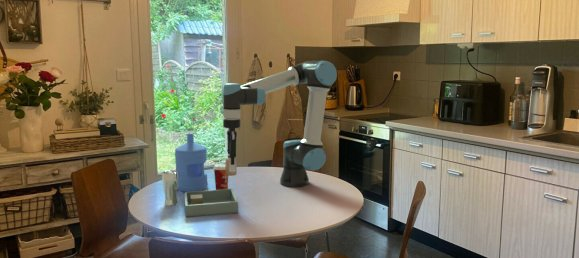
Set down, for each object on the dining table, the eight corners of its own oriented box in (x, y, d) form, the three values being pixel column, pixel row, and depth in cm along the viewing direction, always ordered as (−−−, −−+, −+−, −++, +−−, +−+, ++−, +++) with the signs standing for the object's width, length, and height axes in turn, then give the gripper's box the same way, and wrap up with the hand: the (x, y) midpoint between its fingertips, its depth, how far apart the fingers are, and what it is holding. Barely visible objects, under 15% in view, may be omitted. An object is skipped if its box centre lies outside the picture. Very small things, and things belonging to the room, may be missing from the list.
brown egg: (235, 172, 204) (236, 157, 203) (237, 175, 199) (237, 160, 198) (224, 173, 202) (225, 158, 201) (225, 175, 197) (226, 160, 197)
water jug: (170, 190, 223) (167, 135, 219) (188, 182, 238) (186, 131, 233) (196, 194, 218) (194, 137, 213) (213, 185, 232) (211, 132, 228)
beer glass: (182, 202, 205) (180, 170, 203) (173, 207, 199) (172, 174, 197) (169, 200, 208) (167, 169, 205) (160, 205, 201) (158, 173, 199)
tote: (232, 198, 210) (232, 188, 210) (238, 212, 191) (238, 201, 191) (184, 202, 205) (184, 192, 204) (185, 217, 186) (185, 205, 185)
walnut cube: (191, 206, 199) (190, 195, 198) (202, 205, 200) (202, 194, 199) (191, 209, 194) (190, 198, 193) (203, 208, 195) (202, 197, 194)
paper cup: (226, 195, 215) (226, 167, 213) (211, 194, 217) (210, 166, 214) (232, 191, 223) (231, 163, 220) (217, 190, 224) (216, 163, 222)
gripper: (221, 116, 205) (221, 165, 208) (225, 121, 187) (225, 175, 191) (237, 116, 206) (237, 165, 210) (243, 121, 189) (242, 174, 193)
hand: (231, 169), depth 200 cm, fingers closed on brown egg, 5 cm apart
